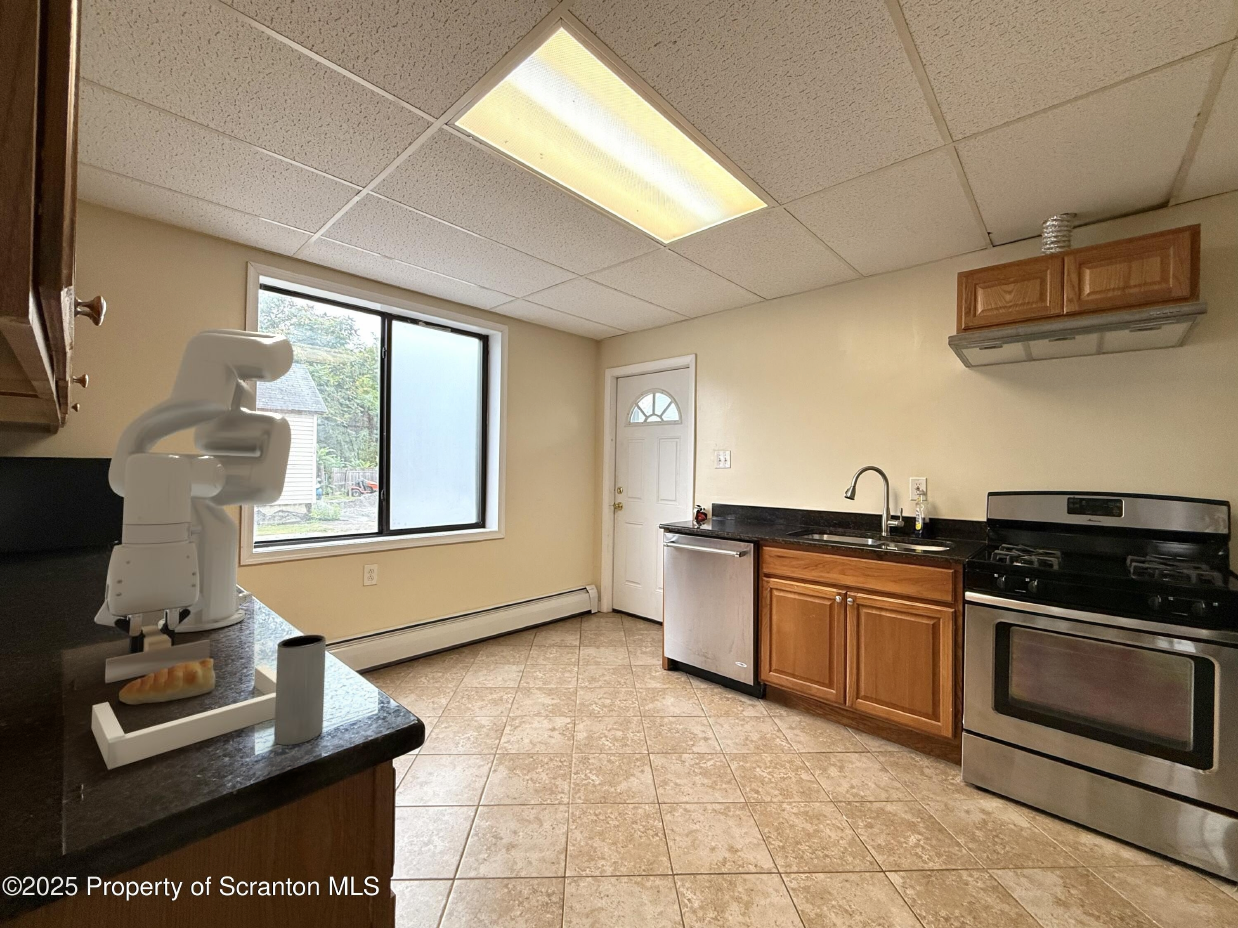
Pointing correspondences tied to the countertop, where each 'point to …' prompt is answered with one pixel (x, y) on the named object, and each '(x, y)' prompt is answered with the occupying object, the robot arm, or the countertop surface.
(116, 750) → the frame
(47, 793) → the countertop surface
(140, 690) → the pastry
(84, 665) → the countertop surface
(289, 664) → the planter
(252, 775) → the countertop surface
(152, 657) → the dough scraper
